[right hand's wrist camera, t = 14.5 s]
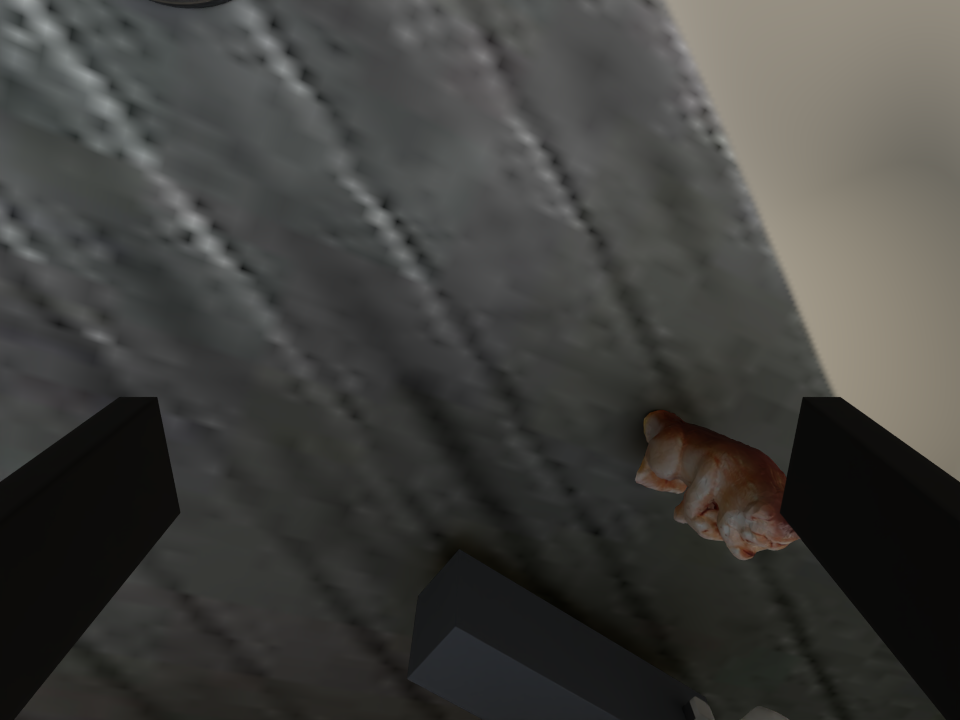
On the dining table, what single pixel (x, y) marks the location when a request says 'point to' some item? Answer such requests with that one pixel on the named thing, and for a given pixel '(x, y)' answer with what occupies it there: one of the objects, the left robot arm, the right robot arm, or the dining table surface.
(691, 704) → the left robot arm
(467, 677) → the bar
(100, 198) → the dining table surface
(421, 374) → the dining table surface
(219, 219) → the dining table surface
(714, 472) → the figurine
